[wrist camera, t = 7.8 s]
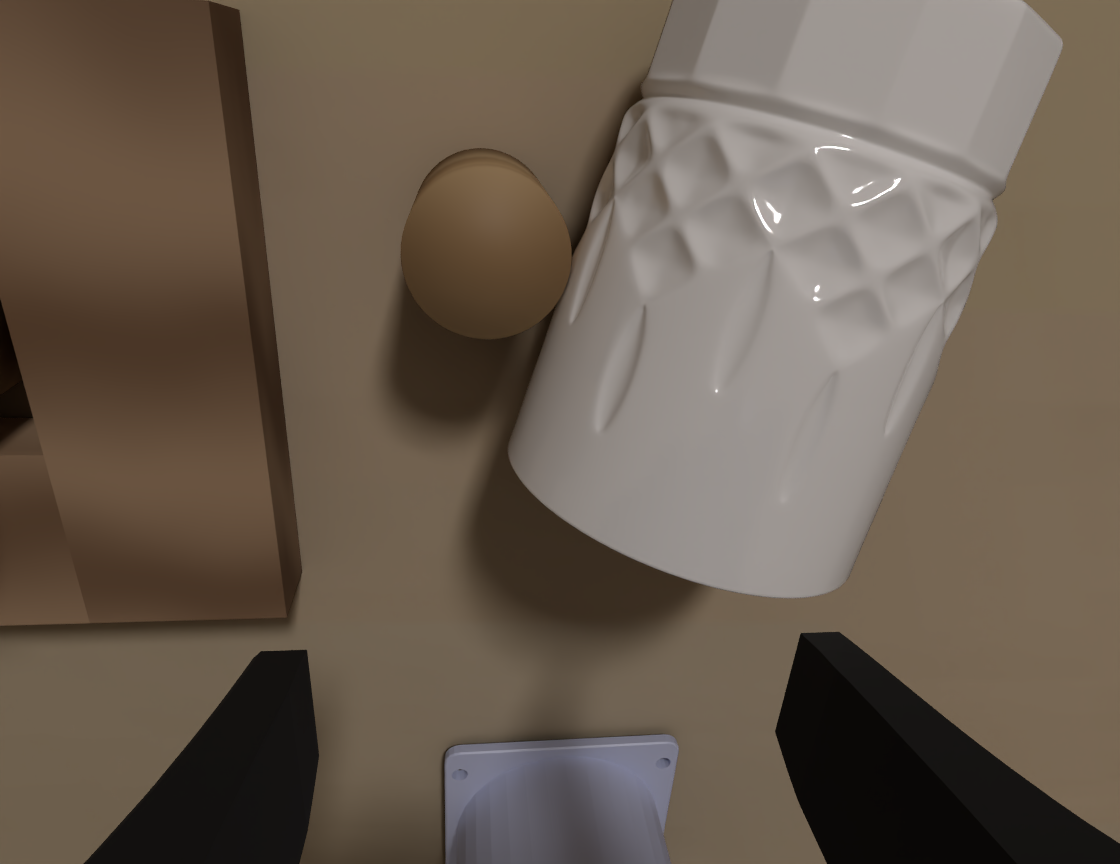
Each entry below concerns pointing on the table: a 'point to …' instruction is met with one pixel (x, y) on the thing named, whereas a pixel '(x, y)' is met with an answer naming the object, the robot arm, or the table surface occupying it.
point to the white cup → (775, 279)
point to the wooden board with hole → (137, 322)
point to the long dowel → (7, 357)
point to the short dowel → (485, 246)
